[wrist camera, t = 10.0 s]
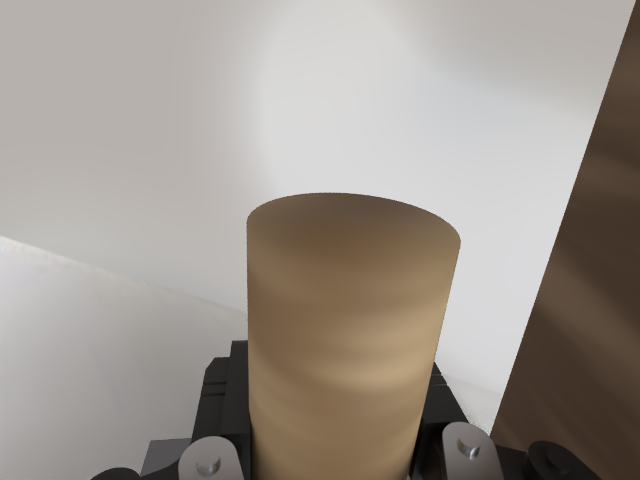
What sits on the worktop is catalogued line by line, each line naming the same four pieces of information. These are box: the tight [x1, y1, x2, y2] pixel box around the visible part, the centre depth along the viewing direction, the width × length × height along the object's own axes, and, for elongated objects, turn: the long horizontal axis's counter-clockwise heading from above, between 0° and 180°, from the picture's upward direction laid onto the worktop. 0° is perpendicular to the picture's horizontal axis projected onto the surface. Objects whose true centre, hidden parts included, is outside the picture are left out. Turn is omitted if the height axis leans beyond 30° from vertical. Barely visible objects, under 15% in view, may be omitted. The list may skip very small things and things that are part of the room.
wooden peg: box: [247, 193, 461, 480], centre depth 11 cm, size 4×4×14 cm
